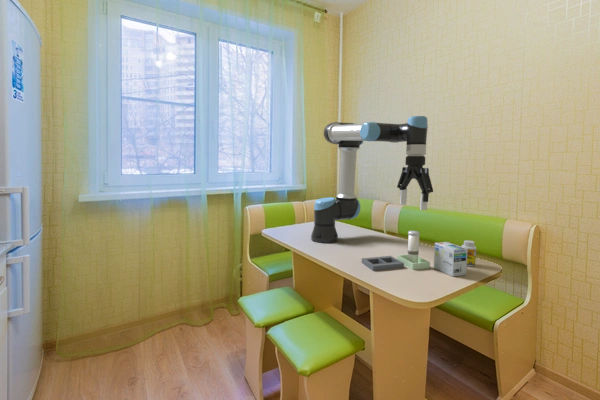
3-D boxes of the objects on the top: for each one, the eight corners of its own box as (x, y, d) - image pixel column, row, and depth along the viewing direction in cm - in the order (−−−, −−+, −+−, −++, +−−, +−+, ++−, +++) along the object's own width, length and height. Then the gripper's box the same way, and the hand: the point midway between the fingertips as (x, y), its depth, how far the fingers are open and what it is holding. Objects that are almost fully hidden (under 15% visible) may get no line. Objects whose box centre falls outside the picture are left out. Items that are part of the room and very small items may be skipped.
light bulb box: (466, 275, 114) (468, 248, 113) (452, 277, 112) (454, 249, 111) (445, 266, 124) (447, 241, 123) (432, 267, 123) (434, 242, 121)
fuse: (405, 263, 126) (406, 231, 125) (413, 262, 128) (415, 230, 126) (411, 266, 122) (412, 233, 121) (420, 265, 123) (421, 232, 122)
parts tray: (396, 262, 129) (397, 255, 129) (412, 260, 131) (413, 254, 131) (412, 270, 119) (412, 263, 118) (429, 269, 121) (429, 262, 120)
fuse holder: (361, 263, 127) (361, 258, 127) (390, 260, 131) (390, 255, 130) (372, 272, 118) (373, 266, 117) (403, 268, 121) (404, 263, 121)
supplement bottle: (457, 264, 126) (459, 241, 125) (463, 261, 130) (464, 238, 129) (472, 267, 122) (474, 243, 121) (477, 264, 126) (478, 241, 124)
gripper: (390, 155, 131) (388, 203, 134) (428, 155, 107) (424, 212, 110) (405, 156, 133) (402, 202, 136) (445, 155, 109) (441, 211, 112)
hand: (412, 207), depth 123 cm, fingers open, 13 cm apart
